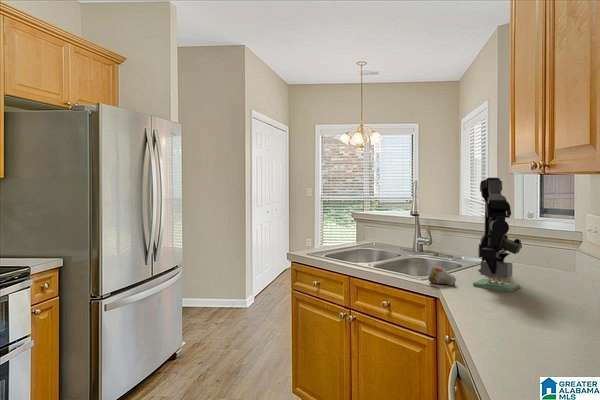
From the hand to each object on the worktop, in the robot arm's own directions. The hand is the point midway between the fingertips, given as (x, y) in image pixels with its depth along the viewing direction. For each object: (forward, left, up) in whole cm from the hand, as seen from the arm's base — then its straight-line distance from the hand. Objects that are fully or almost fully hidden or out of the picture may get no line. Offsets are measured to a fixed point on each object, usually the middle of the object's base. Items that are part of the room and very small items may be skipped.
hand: (496, 272), depth 175 cm
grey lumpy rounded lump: (+9, -17, -6) cm, 20 cm away
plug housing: (0, 0, -1) cm, 1 cm away
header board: (0, 0, -5) cm, 5 cm away
